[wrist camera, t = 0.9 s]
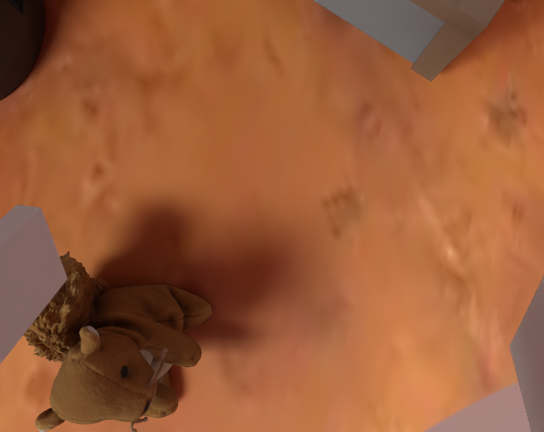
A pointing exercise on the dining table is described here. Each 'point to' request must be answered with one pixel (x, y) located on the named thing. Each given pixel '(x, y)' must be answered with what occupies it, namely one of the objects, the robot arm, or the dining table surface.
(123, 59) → the dining table surface
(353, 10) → the gate leaf
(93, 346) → the stuffed squirrel
